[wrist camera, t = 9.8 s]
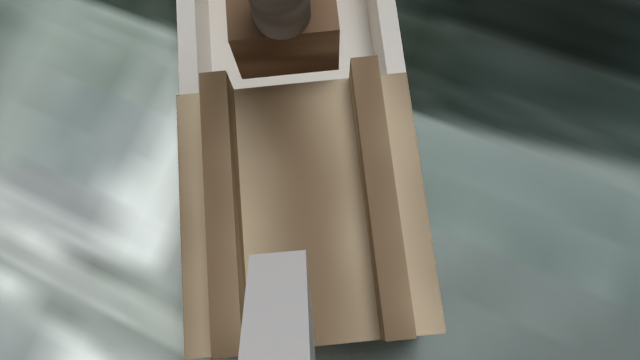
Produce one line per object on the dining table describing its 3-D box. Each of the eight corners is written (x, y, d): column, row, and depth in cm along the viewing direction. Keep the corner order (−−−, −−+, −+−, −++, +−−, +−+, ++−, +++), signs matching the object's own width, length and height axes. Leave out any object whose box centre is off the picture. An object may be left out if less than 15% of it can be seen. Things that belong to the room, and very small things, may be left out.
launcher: (390, 124, 32) (412, 51, 23) (419, 329, 29) (457, 334, 20) (209, 142, 32) (163, 76, 23) (218, 350, 29) (170, 363, 20)
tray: (373, -47, 35) (380, -98, 31) (398, 123, 32) (409, 92, 28) (193, -29, 35) (173, -78, 31) (200, 143, 32) (180, 115, 28)
